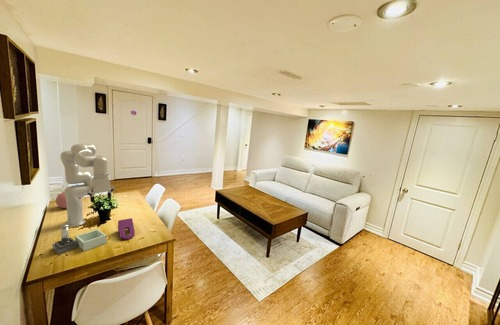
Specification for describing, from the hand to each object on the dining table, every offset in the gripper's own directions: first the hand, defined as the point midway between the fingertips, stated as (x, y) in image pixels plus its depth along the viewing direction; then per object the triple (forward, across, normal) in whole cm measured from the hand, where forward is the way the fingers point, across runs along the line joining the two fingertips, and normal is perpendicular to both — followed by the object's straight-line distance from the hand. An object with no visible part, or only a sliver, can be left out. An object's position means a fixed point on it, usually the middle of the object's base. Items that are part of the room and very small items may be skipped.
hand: (101, 200), depth 138 cm
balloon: (+31, -10, -86) cm, 92 cm away
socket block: (+31, +17, -10) cm, 37 cm away
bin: (+31, +5, -4) cm, 32 cm away
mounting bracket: (+32, -16, +1) cm, 36 cm away
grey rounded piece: (+28, +17, -10) cm, 34 cm away
